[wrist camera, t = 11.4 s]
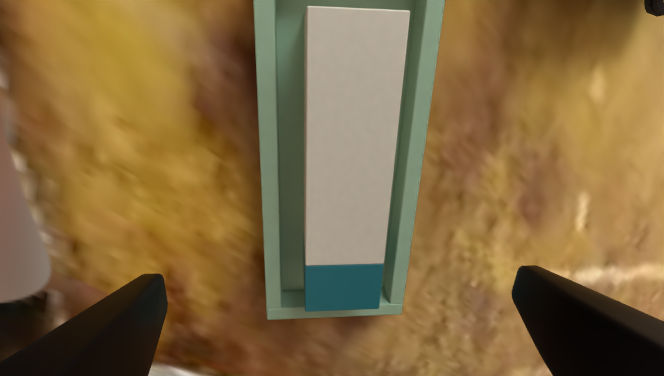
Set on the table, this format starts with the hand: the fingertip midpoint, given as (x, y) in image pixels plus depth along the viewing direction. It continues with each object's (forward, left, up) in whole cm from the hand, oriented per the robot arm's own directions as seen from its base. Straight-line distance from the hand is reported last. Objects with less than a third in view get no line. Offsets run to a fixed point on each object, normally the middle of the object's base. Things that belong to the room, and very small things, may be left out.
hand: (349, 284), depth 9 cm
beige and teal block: (0, -1, -10) cm, 10 cm away
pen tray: (0, -1, -10) cm, 10 cm away
